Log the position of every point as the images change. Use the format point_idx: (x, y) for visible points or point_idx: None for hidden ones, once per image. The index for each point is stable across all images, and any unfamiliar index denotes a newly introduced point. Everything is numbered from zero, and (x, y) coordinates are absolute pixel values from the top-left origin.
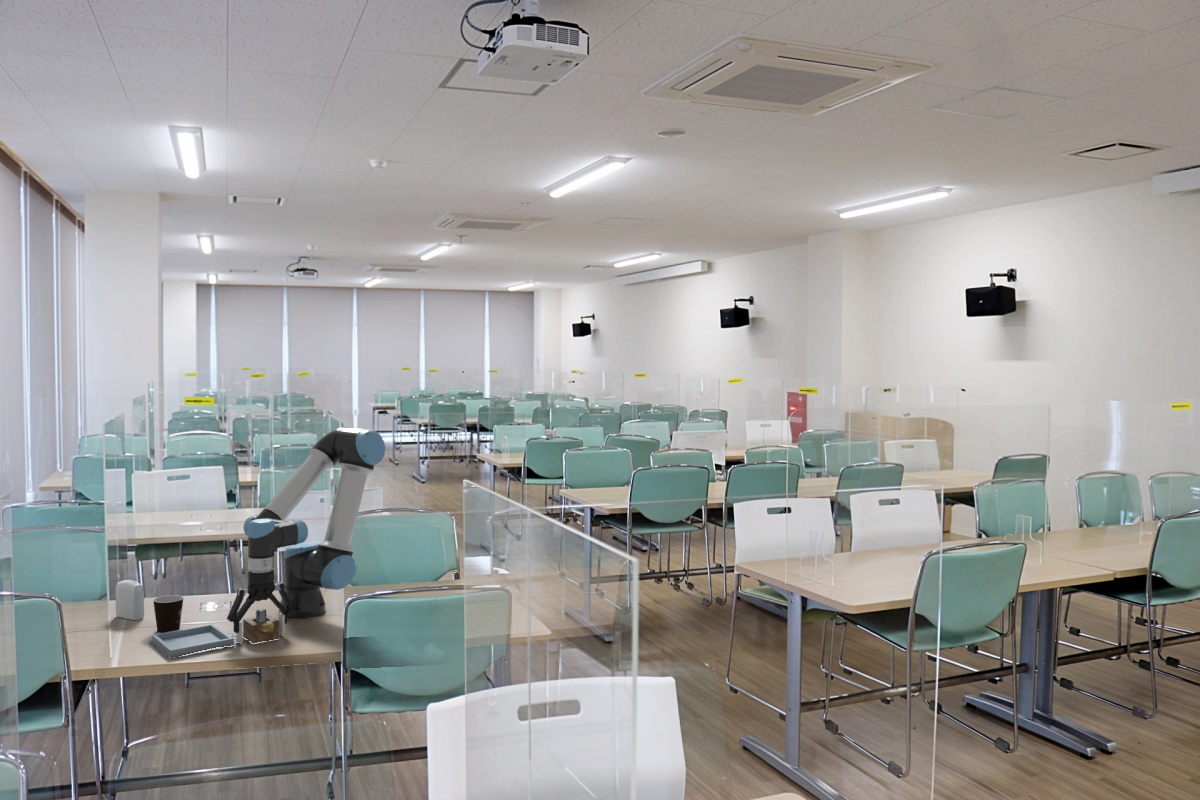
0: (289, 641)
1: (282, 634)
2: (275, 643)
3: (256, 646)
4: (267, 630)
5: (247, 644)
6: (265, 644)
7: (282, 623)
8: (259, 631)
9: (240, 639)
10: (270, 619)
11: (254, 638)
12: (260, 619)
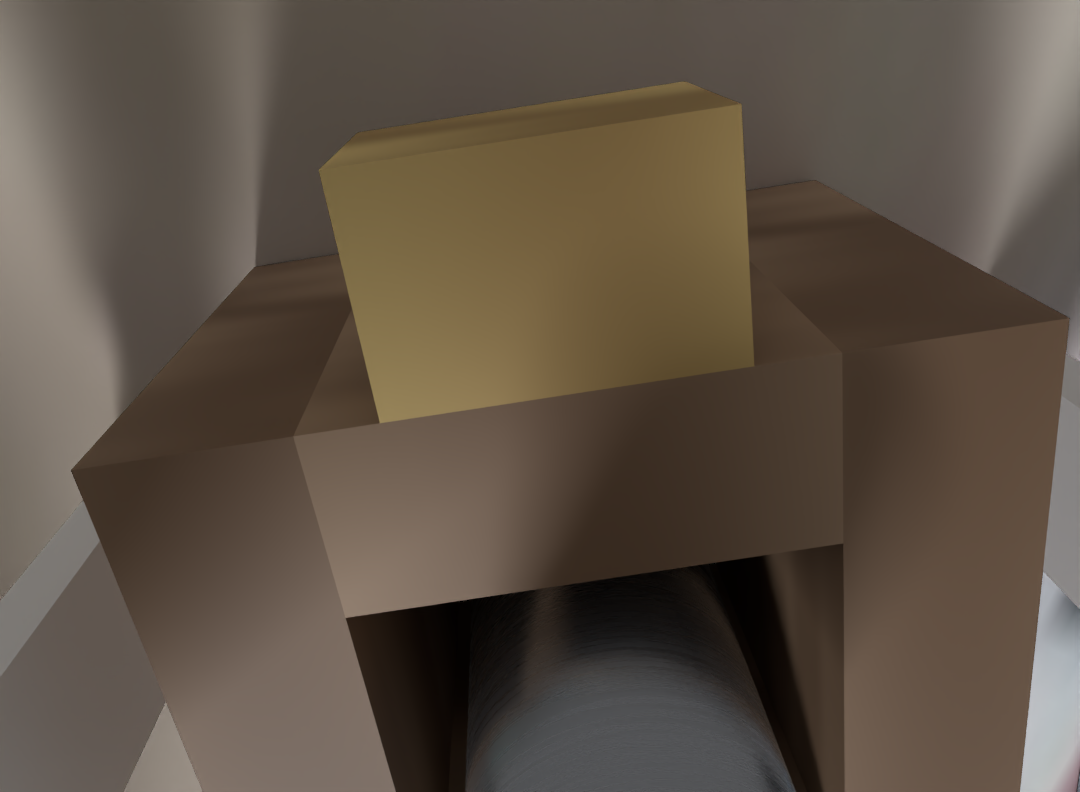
0: (33, 49)
1: None
2: (361, 60)
3: (784, 51)
4: (566, 101)
5: None
6: None
7: (35, 626)
8: (751, 274)
9: None
10: (342, 710)
11: (835, 212)
12: (694, 698)
